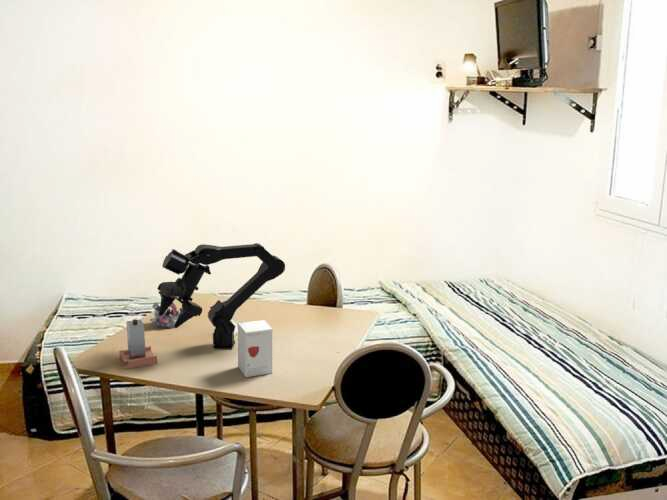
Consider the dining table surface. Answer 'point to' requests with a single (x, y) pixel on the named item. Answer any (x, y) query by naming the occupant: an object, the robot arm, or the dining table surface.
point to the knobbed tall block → (136, 339)
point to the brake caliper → (165, 316)
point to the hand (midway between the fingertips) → (167, 321)
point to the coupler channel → (140, 361)
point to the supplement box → (255, 348)
